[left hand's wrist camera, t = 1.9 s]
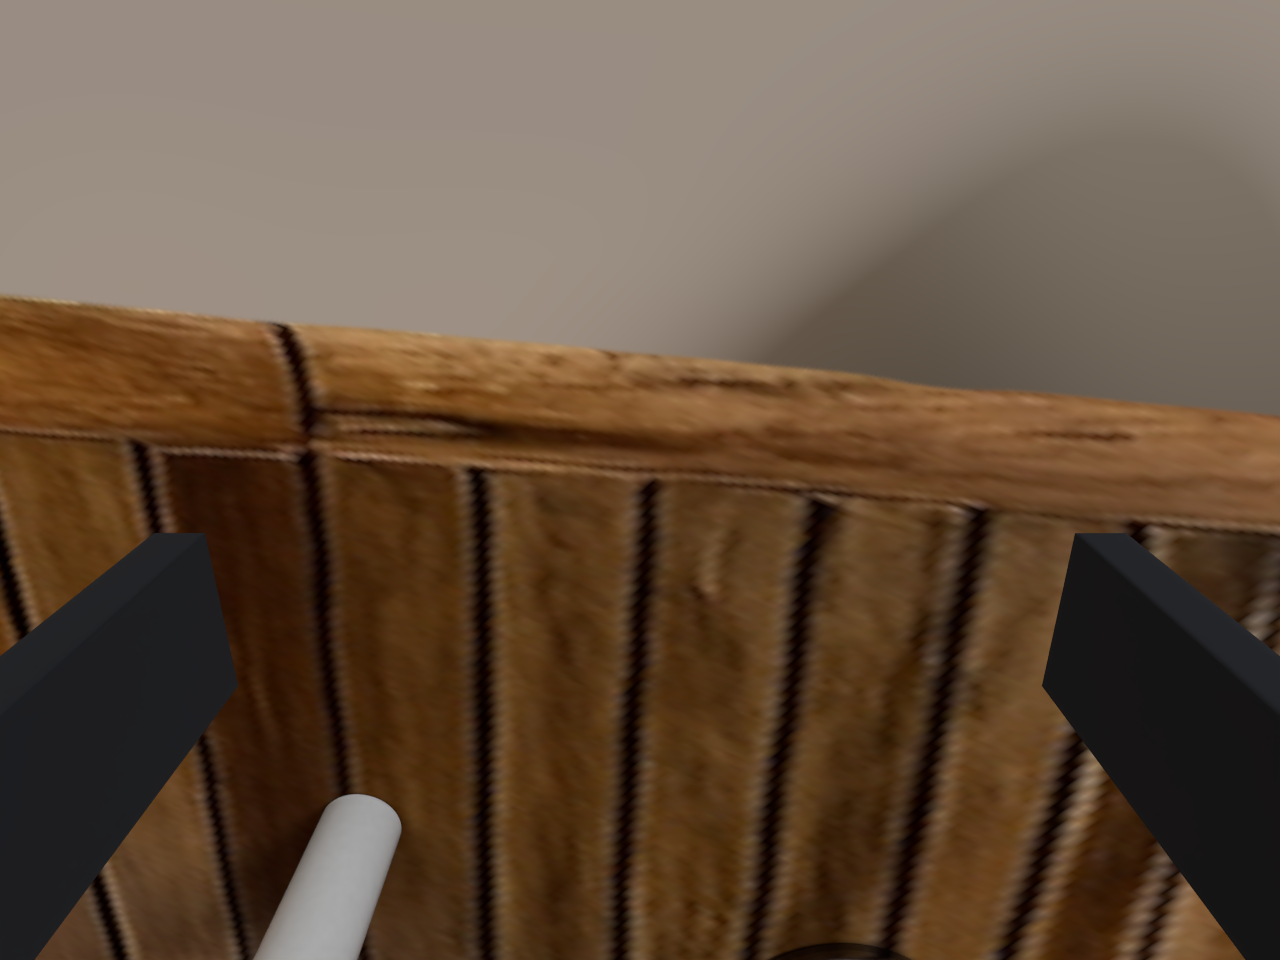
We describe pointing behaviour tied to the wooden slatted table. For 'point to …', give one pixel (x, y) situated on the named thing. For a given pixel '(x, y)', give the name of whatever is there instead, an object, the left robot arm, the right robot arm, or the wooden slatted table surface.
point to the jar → (335, 883)
